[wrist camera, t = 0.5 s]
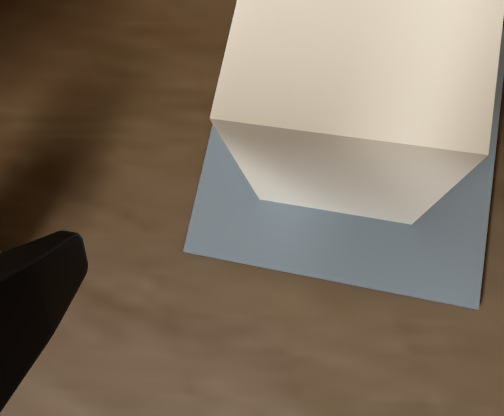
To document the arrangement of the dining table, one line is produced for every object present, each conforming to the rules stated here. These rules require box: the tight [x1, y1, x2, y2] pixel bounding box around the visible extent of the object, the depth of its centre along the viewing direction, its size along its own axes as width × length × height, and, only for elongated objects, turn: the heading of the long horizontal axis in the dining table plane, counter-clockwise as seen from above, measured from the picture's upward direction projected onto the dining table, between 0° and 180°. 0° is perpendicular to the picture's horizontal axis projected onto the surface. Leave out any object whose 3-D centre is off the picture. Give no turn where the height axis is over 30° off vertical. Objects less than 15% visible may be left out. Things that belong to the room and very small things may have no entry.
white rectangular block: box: [210, 0, 504, 225], centre depth 17 cm, size 7×7×10 cm
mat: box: [183, 28, 504, 309], centre depth 22 cm, size 14×14×1 cm
